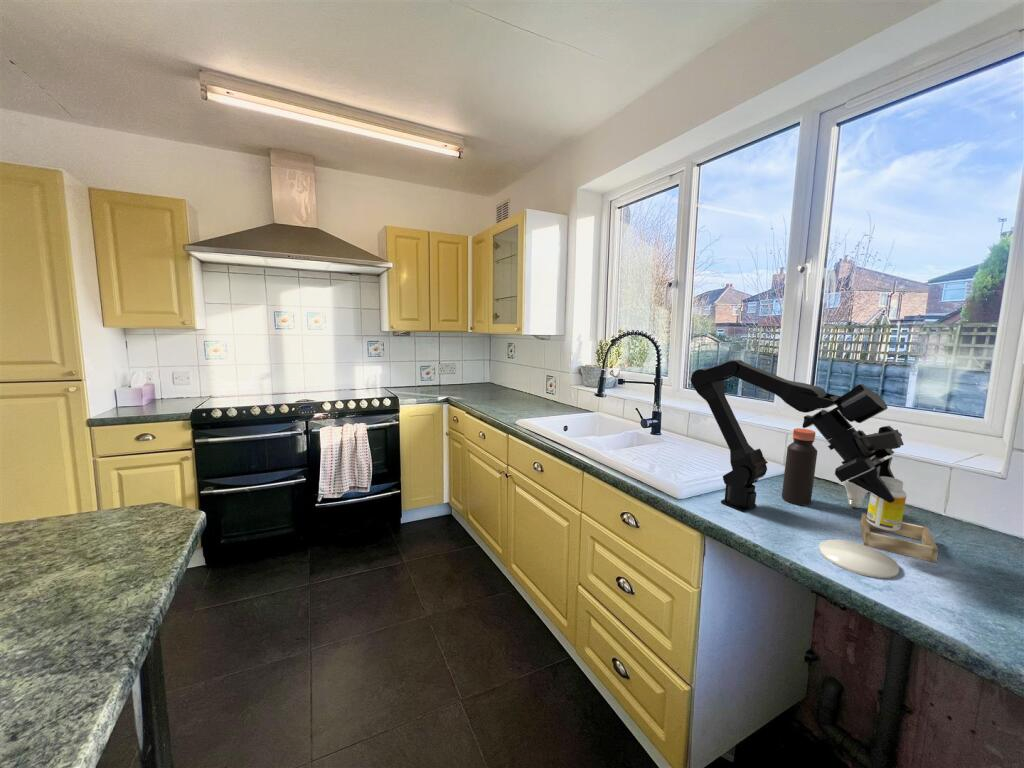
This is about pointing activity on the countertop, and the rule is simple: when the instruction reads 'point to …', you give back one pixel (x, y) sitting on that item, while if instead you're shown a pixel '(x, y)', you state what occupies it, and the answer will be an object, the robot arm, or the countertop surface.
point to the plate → (859, 558)
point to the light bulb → (854, 494)
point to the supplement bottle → (887, 506)
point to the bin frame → (898, 545)
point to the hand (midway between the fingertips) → (896, 498)
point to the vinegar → (800, 468)
